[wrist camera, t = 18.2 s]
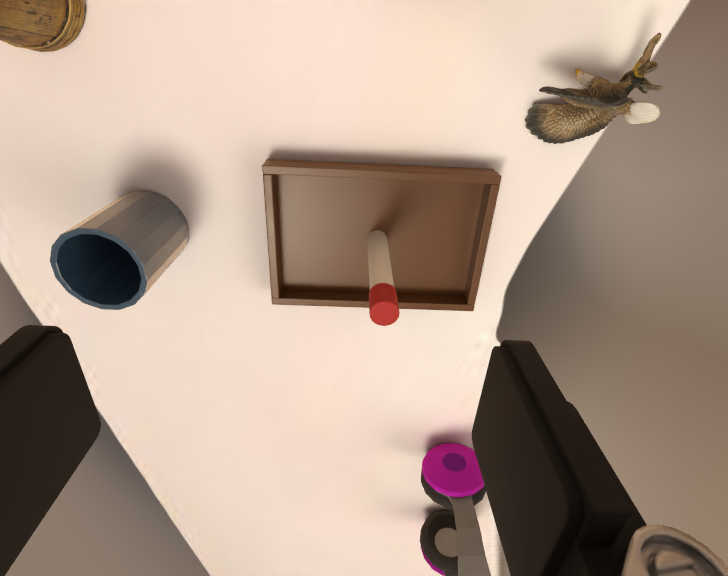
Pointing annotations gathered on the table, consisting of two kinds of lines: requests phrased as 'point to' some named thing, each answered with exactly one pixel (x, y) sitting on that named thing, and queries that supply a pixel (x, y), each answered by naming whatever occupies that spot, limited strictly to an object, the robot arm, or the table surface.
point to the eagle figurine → (595, 104)
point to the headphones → (453, 528)
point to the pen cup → (120, 250)
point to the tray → (377, 212)
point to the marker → (381, 281)
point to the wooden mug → (41, 23)
